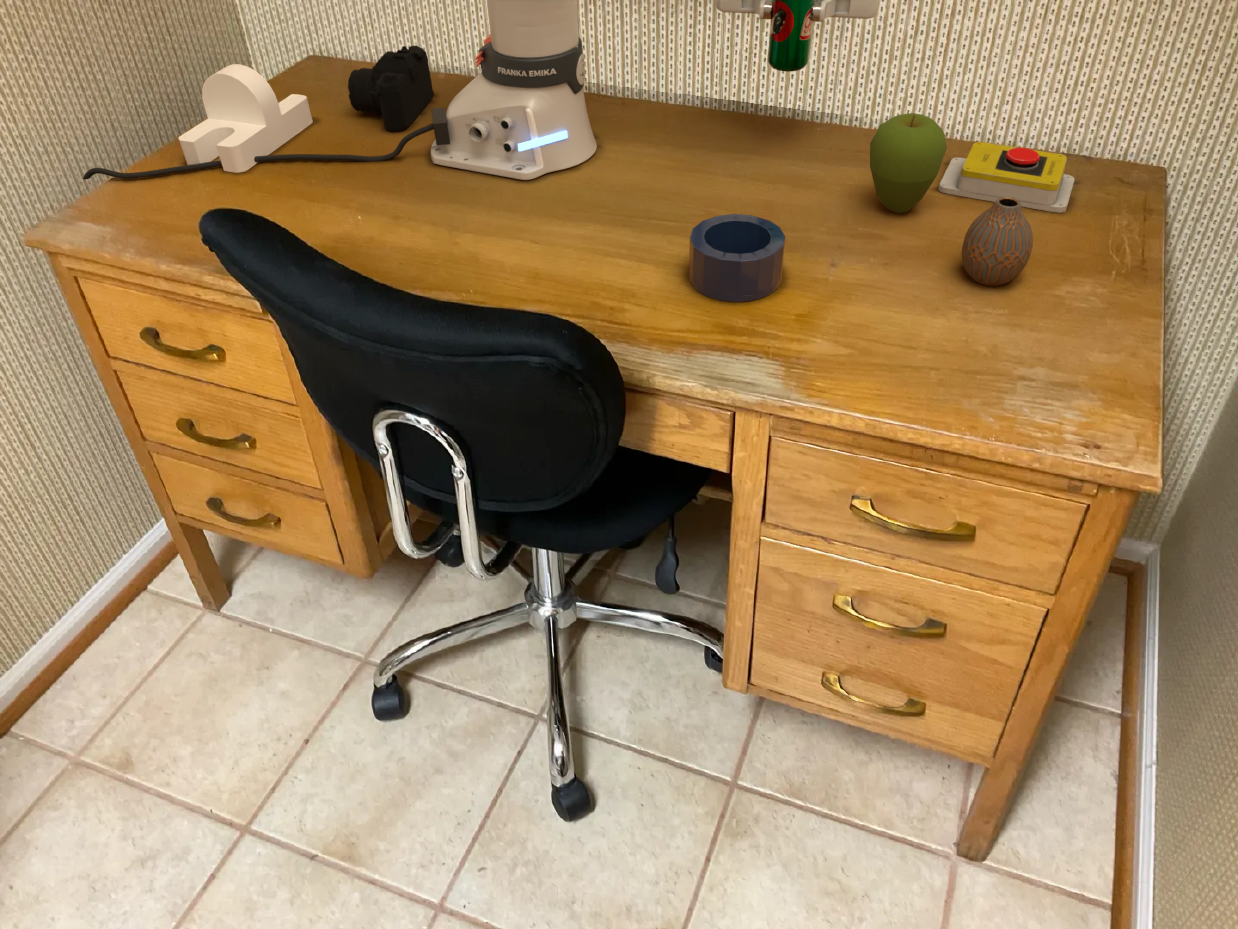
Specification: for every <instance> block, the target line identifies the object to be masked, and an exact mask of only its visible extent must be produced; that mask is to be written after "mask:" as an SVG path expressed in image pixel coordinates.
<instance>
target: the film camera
mask: <svg viewBox="0 0 1238 929" xmlns="http://www.w3.org/2000/svg"><path fill="white" fill-rule="evenodd" d="M347 90H348V99H349V101H350V105H351V107H352V108H353V110H354V111H355V112H361V113H363V114H376V115H381V116H382V117H381V118H382V122H383V126H384V129H385V131H387V132H391V133H397V132H398V133H399V132H402V131H403V132H404V131H406V130H407V129H409V127H410V126H411V125H412V124H413V123H414V122H415V120H416V119H417V118H418V117H419V116H420V115H421V113H422V112H423V111H424V110H425V108H427V106H428V105H429V104H430V102H431V101H432V99H433V98H434V93H435V92H434V89H433V83H432V78H431V71H430V65H429V57H428V54H427V51H426V50H425V49H424V48H423V47H420V46H419V45H410V46H408V48H407V46H405V45H403V46H401V49H397V51H392V50H387V51H386V52H384V54H382V56H381V57H379V59H378V60H377V62H376V63H375V64H374V66H372V68H367V67H361V68H359V69H353V70H352V71H351V72H350V74H349V77H348V81H347Z"/></svg>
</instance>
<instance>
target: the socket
mask: <svg viewBox="0 0 1238 929" xmlns="http://www.w3.org/2000/svg"><path fill="white" fill-rule="evenodd" d="M785 246H786V235H785V233H784V231H783V230H782V228H781V227H780V226H779V225H777V224H776V223H775V222H773V221H771V220H769V219H766V218H763V217H759V216H756V215H753V214H743V213H728V214H721V215H720V214H719V215H716V216H713V217H709V218H706V219H704V220H701V221H700V222H699V223H698V224H696V225H695V226H694V227H693V228H692V230H691V232H690V235H689V247H688V248H689V249H688V251H689V253H688V254H689V255H688V258H689V259H688V272H689V281H690V284H691V285H692V287H693V288H694V289H695V290H696V291H697V292H698V293H699V294H702V295H704V296H706V297H708V298H710V299H714V300H718V301H722V302H728V303H730V302H731V303H745V302H753V301H756V300H757V301H758V300H760V299H764V298H765V297H768V296H770V295H771V294H772V293H774V292H775V291H776V290H777V289H778V288H779V286H780V285H781V282H782V274H783V268H784V257H785Z"/></svg>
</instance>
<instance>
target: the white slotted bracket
mask: <svg viewBox="0 0 1238 929" xmlns="http://www.w3.org/2000/svg"><path fill="white" fill-rule="evenodd" d="M201 99H202V103H203V107H204V111H205V114H206V116H207V119H204V120H203V121H201V122H200V123H198V124H196V125H195V126H193V127H192V128H191V129H189V130H187V131H186V132H184V133H183V134H180V136H178V142H179V144H180V148H181V151H182V153H183V156H184V159H185V162H186V165H192V164H199V163H206V162H213V161H215V159H217V158H219V161H220V160H221V163H222V166H221V167H222V169H223V172H230V173H238V174H239V173H244V172H247V171H249V170H250V169H252V167H254V166H255V165H257V164H258V163H259V162H255V161H254V158H255V157H256V156H267V155H271V154H272V153H274V152H275V151H276V150H277V149H279V148H280V147H281V146H283V145H284V144H287V142H289V141H290V140H291V139H293V138H294V137H296V136H297V135H298V134H300V133H301V132H302V131H304V130H305V129H306V128H308V127H309V126H310V125H313V117H312V113H311V109H310V105H309V104H310V103H309V101H308V96H306V95H303V94H296V93H291V94H290V95H288V96H287V97H286V98H284V99H282V100H281V101H279V100H278V99H277V96H276V94H275V91H274V90H273V88H272V87H271V85H270V83H269V82H268V81H267V80H266V79H265V78H264V76H263V75H261V74H260V73H259V72H257V70H255V69H253V68H251V67H249V66H248V65H243V64H240V63H233V64H229V65H226V66H225V67H223V68H222V69H220V70H218V71H216V72H215V73H213V74H211V75H210V76H208V77H207V78H206V80H205V81H204V82H203V84H202V88H201Z"/></svg>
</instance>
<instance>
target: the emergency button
mask: <svg viewBox="0 0 1238 929" xmlns="http://www.w3.org/2000/svg"><path fill="white" fill-rule="evenodd" d="M1067 161H1068V157H1067V156H1066V155H1065V154H1061V153H1056V152H1049V151H1042V150H1035V149H1031V148H1028V147H1027V148H1026V147H1015V146H1011V145H1004V144H997V143H991V142H983V141H977V142H974V143H973V144H972V146H971V149H970V150H969V152H968V154H967V157H953V158H951V160H950V162H949V164H948V166H947V167H946V170H945V172H944V174H943V176H942V178H941V180H940V182H939V185H938V191H939V192H940V193H943V194H947V195H951V196H959V197H965V198H969V199H976V200H980V201H981V200H982V201H987V202H993V203H995V201H996V200H997V199H998V198H1001V197H1012V198H1015V199H1017V200H1019V201H1020V203H1021V207H1022V208H1028V209H1035V210H1038V211H1039V210H1040V211H1046V212H1050V213H1051V212H1052V213H1058V214H1061V213H1065V212H1066V211H1067V208H1068V205H1069V202H1070V197H1071V194H1072V190H1073V188H1074V185H1075V184H1074V183H1075V181H1076V179H1075V177H1074V176H1073V175H1070V174H1067V173H1066V174H1065V170H1066V165H1067Z"/></svg>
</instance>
